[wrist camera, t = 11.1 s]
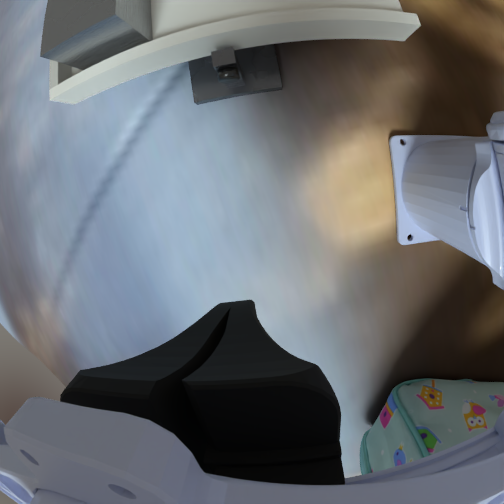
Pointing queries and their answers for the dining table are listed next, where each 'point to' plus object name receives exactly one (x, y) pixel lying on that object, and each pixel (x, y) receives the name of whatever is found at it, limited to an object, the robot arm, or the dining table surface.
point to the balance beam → (231, 35)
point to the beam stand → (234, 73)
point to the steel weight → (94, 29)
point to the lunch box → (429, 420)
